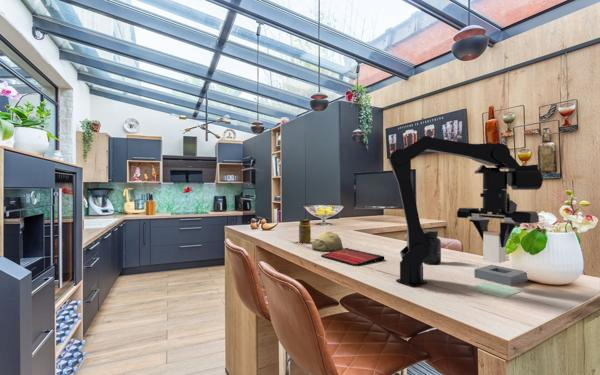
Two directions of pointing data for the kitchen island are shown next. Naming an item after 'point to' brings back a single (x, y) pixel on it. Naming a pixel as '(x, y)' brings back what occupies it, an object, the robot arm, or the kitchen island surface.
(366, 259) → the binder
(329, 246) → the tan lumpy mound
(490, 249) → the plug
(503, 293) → the mat
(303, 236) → the condiment
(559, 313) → the kitchen island surface
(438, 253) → the supplement bottle
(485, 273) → the grey square socket block
